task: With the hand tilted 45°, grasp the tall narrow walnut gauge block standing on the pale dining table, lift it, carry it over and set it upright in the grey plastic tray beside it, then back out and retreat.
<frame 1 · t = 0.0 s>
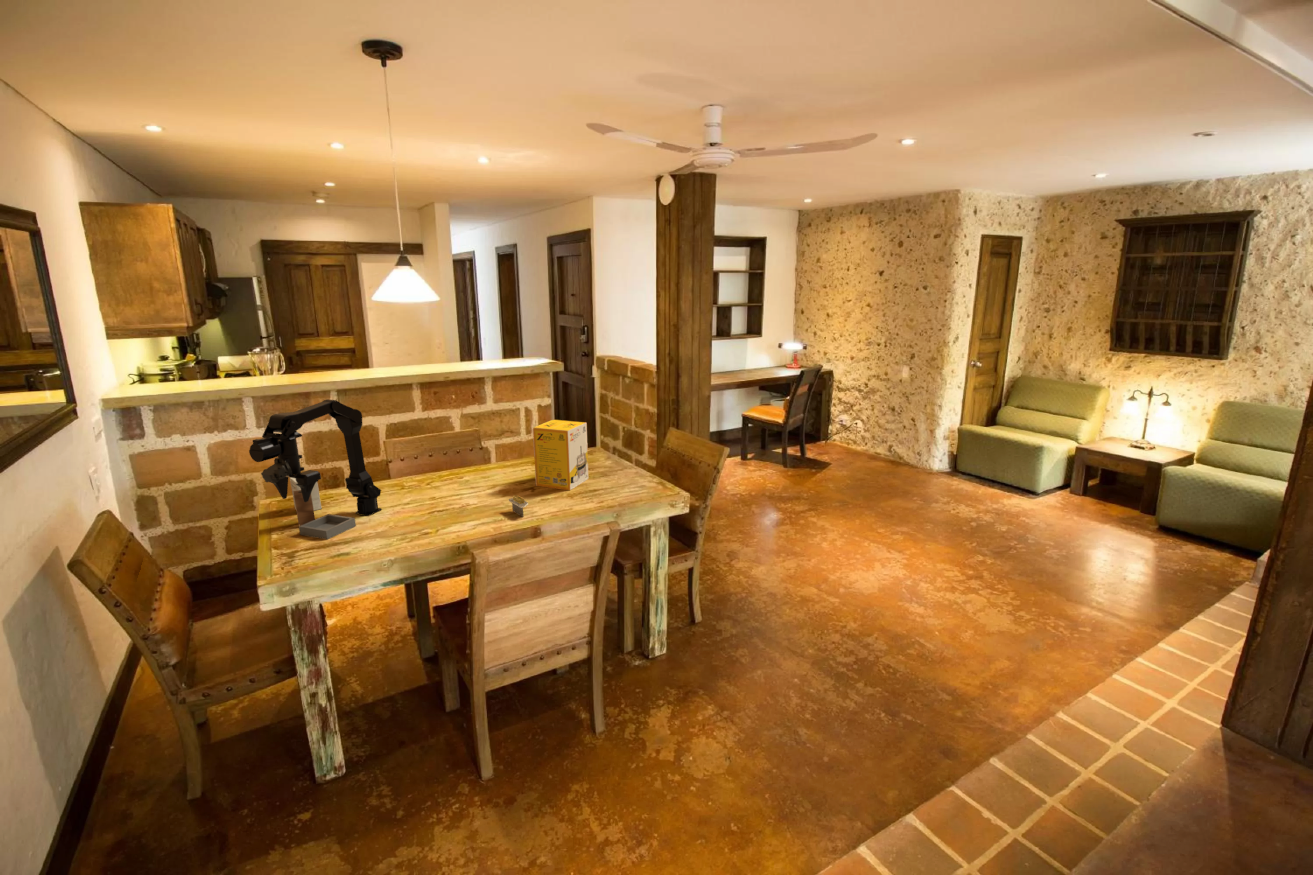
hand: (295, 500, 194), 15 cm above the table, tool pointing down, fingers open, 9 cm apart
tray: (328, 530, 207), on the table
gauge block: (307, 523, 212), on the table
supplement box: (308, 509, 226), on the table
platform: (520, 514, 221), on the table
packaging box: (562, 482, 256), on the table
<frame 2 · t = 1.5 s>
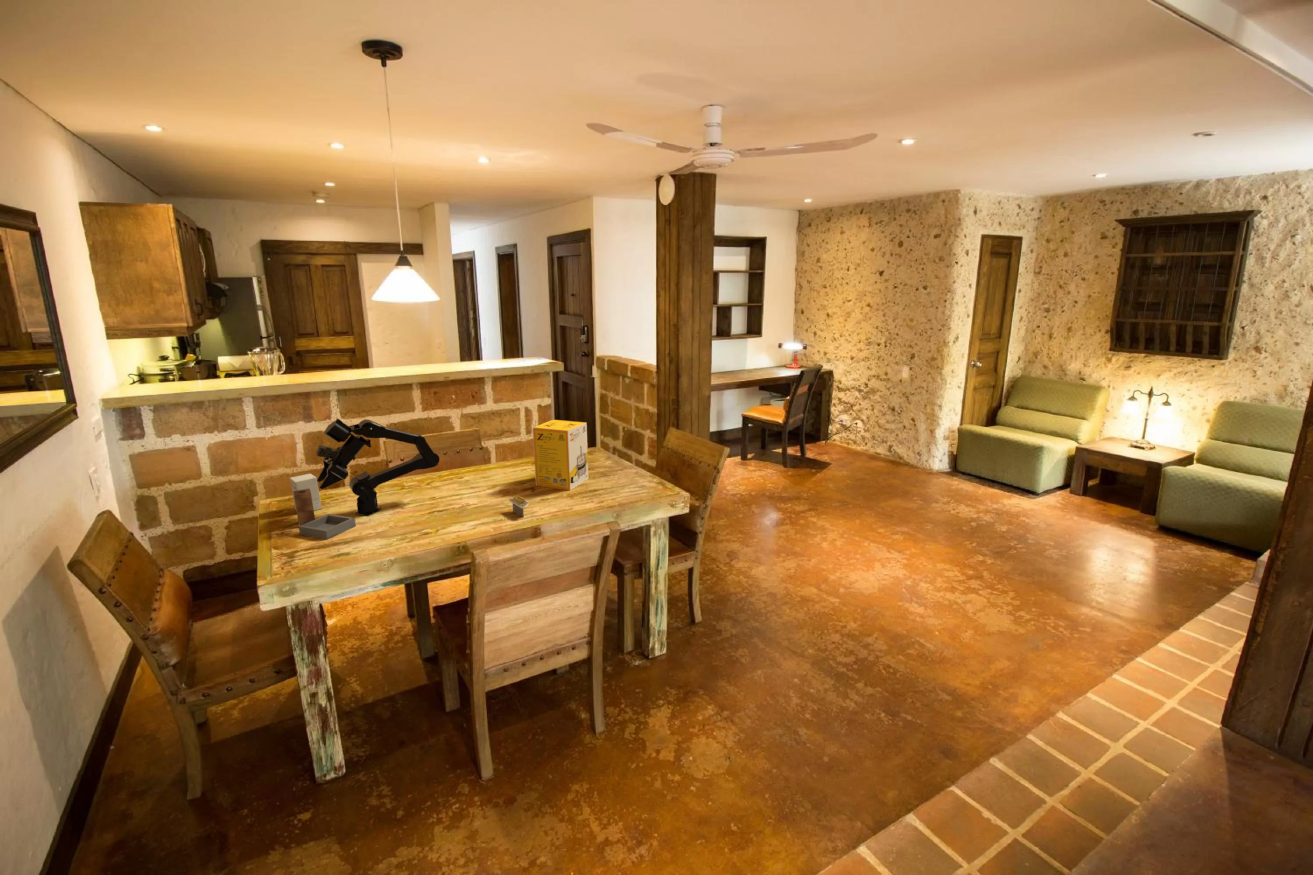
hand: (319, 484, 212), 13 cm above the table, tool tilted 45°, fingers open, 9 cm apart
nothing on the table moved.
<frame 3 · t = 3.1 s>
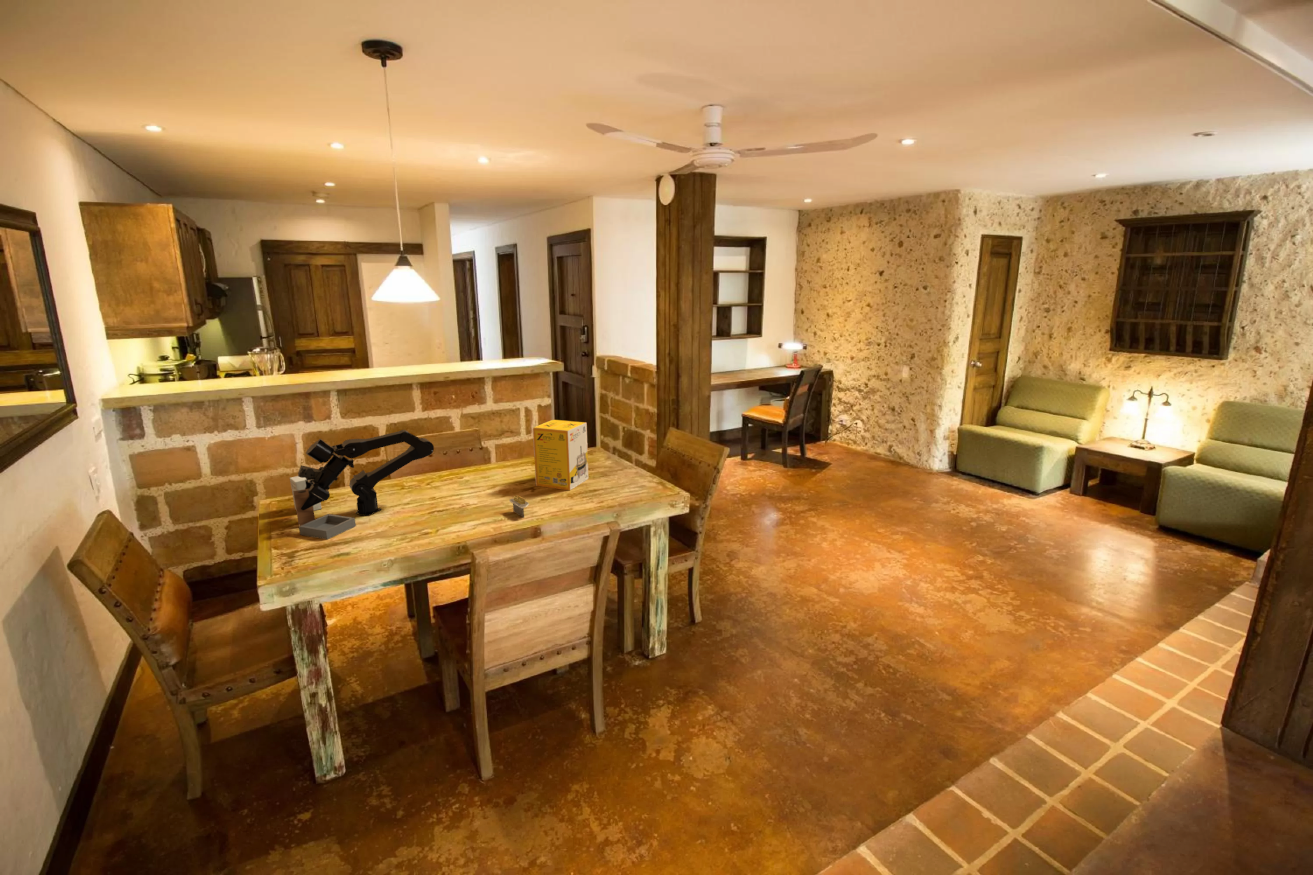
hand: (300, 505, 210), 7 cm above the table, tool tilted 45°, fingers open, 9 cm apart
nothing on the table moved.
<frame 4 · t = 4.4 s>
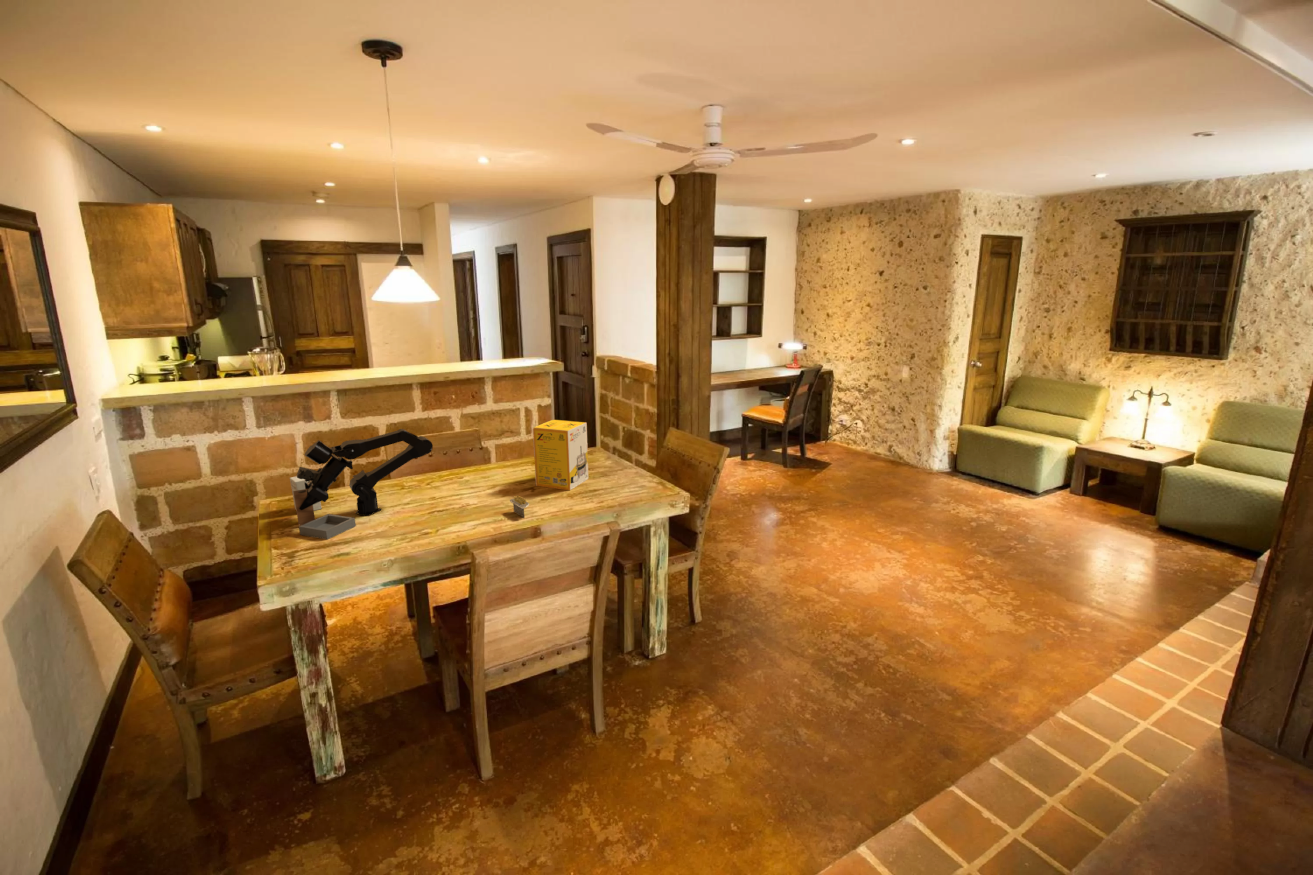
hand: (299, 507, 210), 7 cm above the table, tool tilted 45°, fingers closed on gauge block, 5 cm apart
gauge block: (307, 523, 212), on the table, touching gripper
everything else where it was.
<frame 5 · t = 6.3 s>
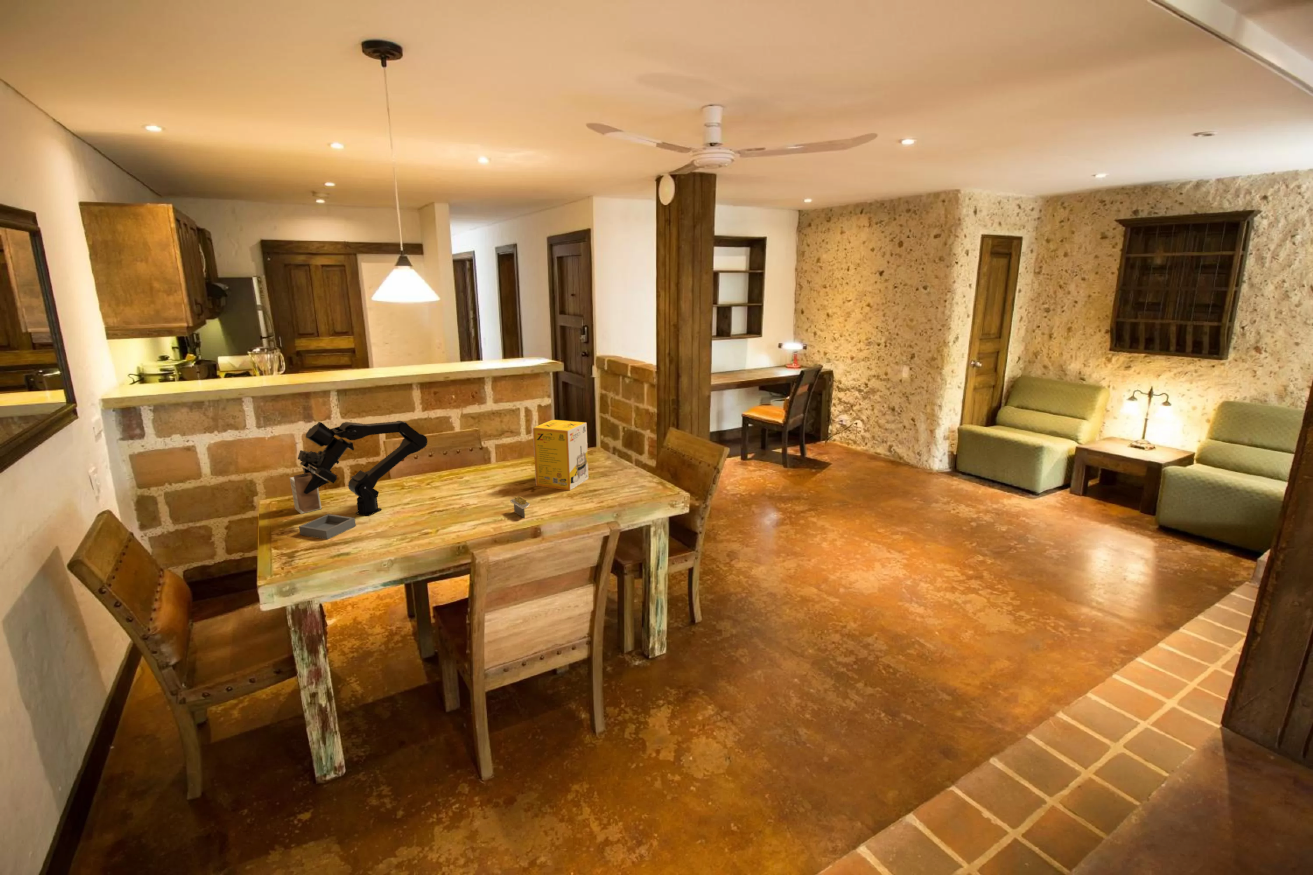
hand: (302, 491, 205), 13 cm above the table, tool tilted 45°, fingers closed on gauge block, 5 cm apart
gauge block: (309, 508, 208), point 7 cm above the table, touching gripper
when the fingers open (8 cm above the table, at t = 8.5 s): gauge block stays where it is, resting on tray.
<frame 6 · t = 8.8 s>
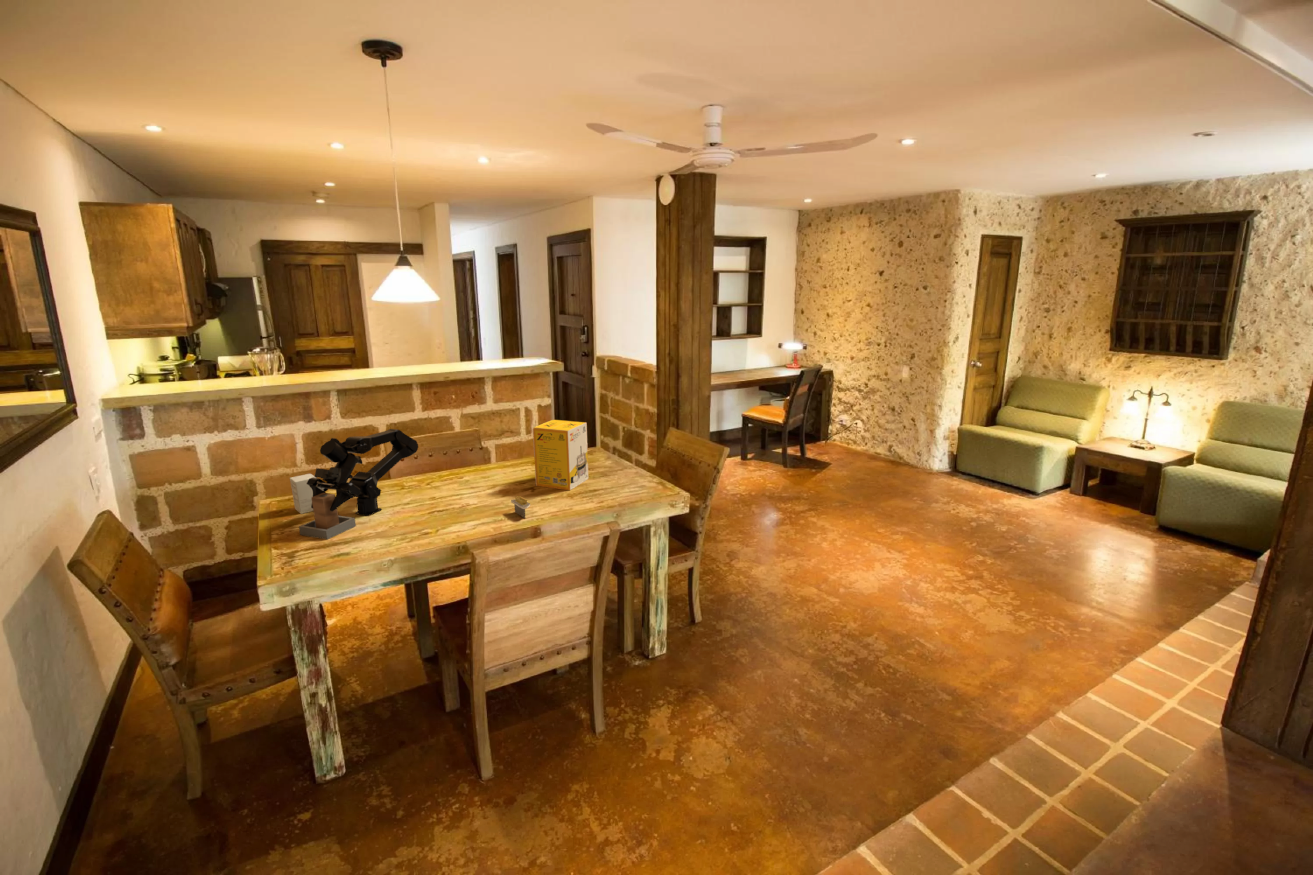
hand: (321, 509, 203), 8 cm above the table, tool tilted 45°, fingers open, 8 cm apart
gauge block: (328, 528, 207), point 1 cm above the table, touching tray
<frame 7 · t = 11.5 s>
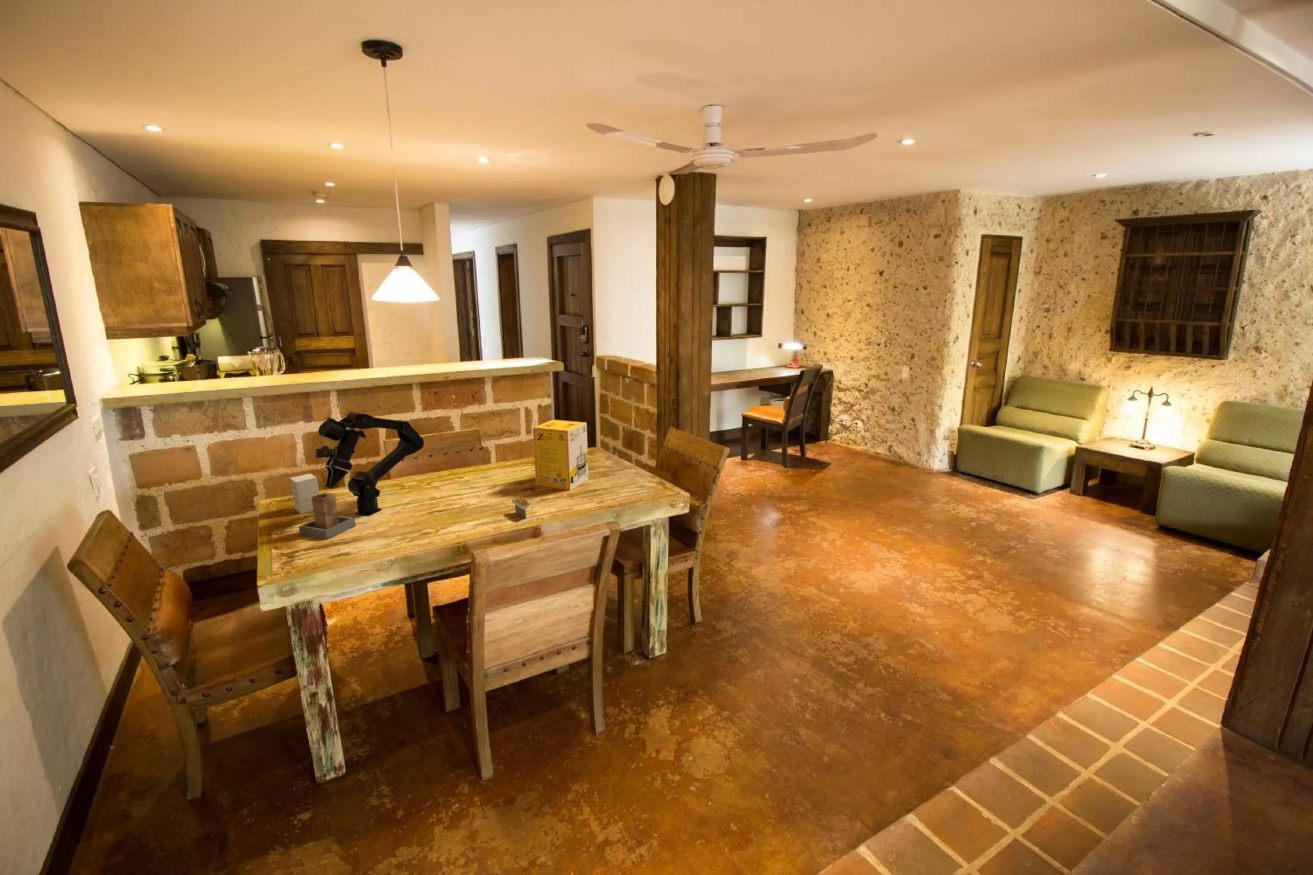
hand: (328, 487, 209), 14 cm above the table, tool tilted 35°, fingers open, 9 cm apart
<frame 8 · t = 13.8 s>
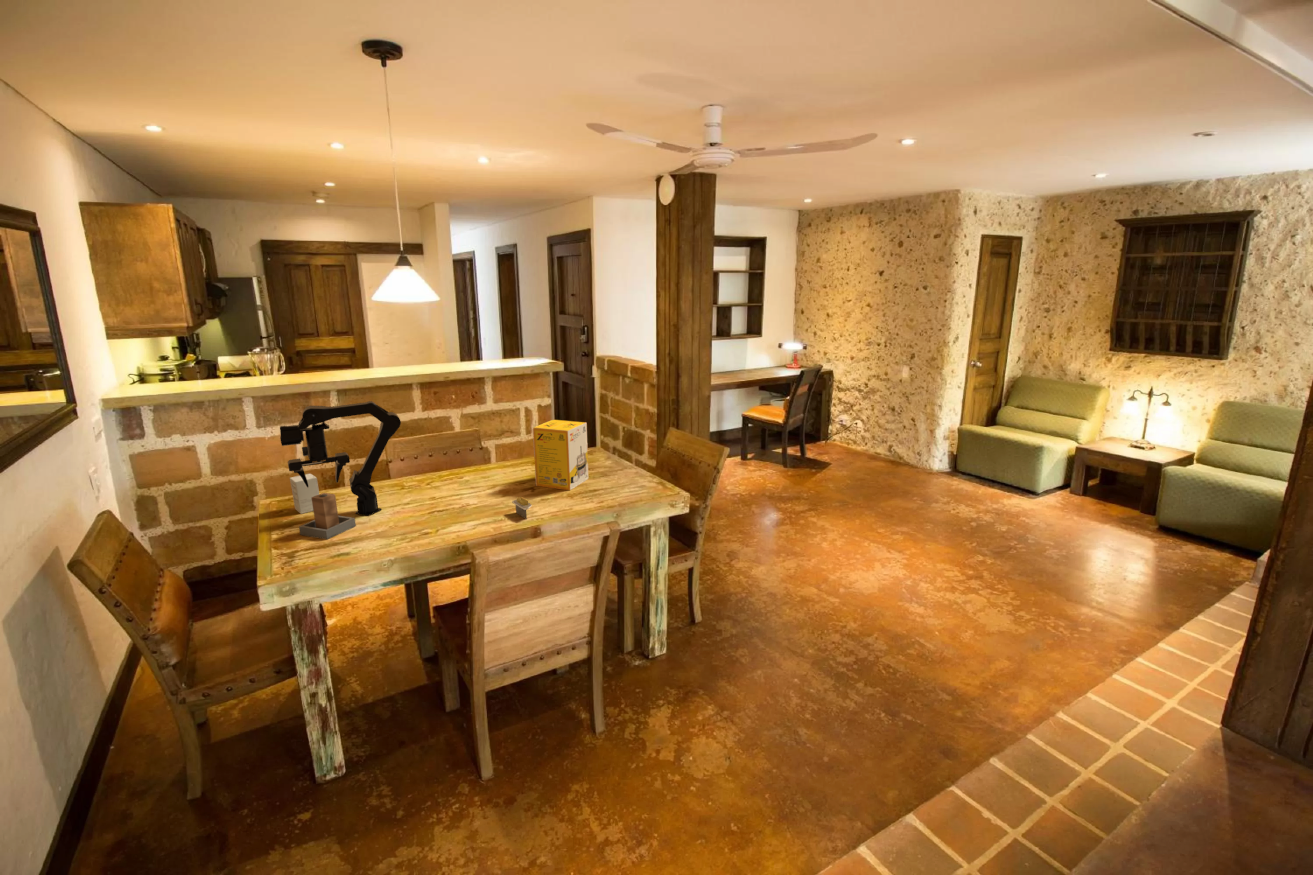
hand: (322, 484, 214), 13 cm above the table, tool pointing down, fingers open, 9 cm apart
at the end: gauge block 0.0 cm off-centre on the tray, point 0.6 cm above the tray's base; gauge block tilted 0°; the gripper is holding nothing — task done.
